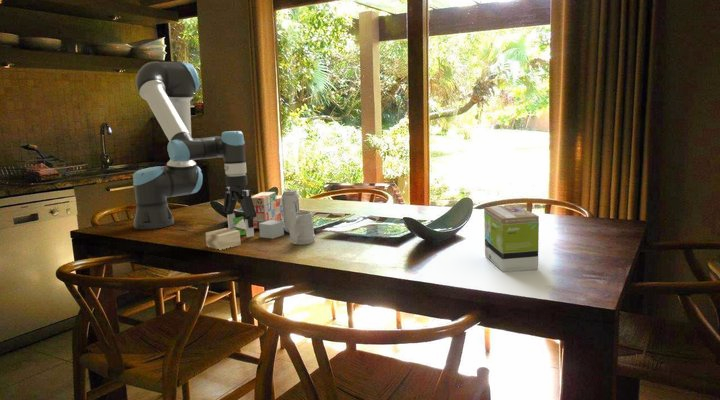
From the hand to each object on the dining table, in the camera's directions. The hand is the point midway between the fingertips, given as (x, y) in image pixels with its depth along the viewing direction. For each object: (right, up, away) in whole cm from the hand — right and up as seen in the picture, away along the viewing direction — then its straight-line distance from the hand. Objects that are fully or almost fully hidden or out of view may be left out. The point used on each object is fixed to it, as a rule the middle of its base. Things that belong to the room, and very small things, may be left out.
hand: (241, 233), depth 188 cm
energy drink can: (+18, +1, +2) cm, 19 cm away
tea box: (+84, -5, -47) cm, 96 cm away
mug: (+24, -2, -16) cm, 29 cm away
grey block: (+12, -1, -4) cm, 13 cm away
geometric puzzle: (0, -1, 0) cm, 0 cm away
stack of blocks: (+7, +3, +19) cm, 20 cm away
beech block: (-2, -3, -14) cm, 15 cm away
